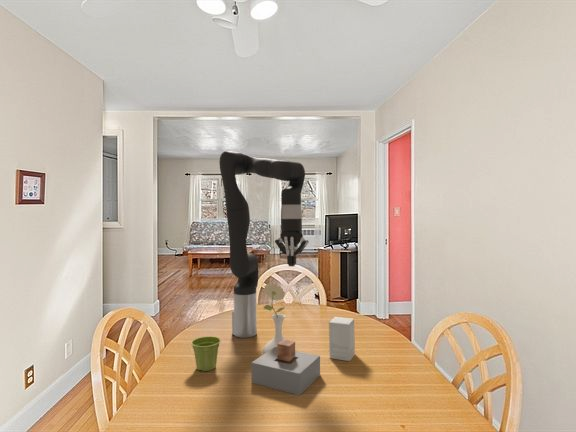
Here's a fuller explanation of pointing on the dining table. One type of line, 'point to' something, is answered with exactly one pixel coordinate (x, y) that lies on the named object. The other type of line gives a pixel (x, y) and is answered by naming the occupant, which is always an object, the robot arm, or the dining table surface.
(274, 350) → the mortise board
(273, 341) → the flower in vase
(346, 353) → the supplement box
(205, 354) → the plant pot
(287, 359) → the peg
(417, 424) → the dining table surface
